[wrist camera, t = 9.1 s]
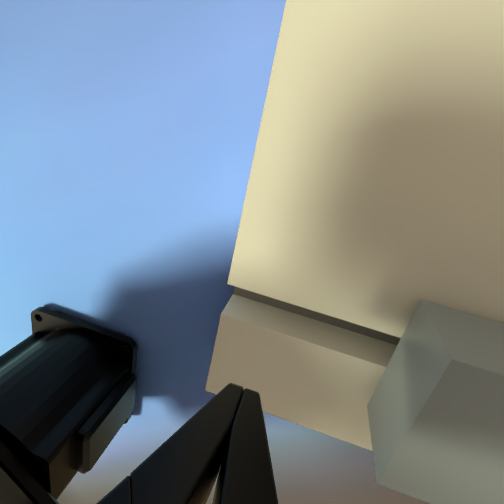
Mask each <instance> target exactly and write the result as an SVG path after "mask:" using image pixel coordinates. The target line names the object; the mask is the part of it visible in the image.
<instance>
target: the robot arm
mask: <svg viewBox="0 0 504 504" xmlns="http://www.w3.org/2000/svg"><path fill="white" fill-rule="evenodd" d="M31 321H32V333H33V334H32V335H31V336H29V337H28V338H27V339H25V340H24V341H22V342H21V343H19V344H18V345H16V346H15V347H13V348H12V349H10V350H9V351H7V352H6V353H5V354H3V355H2V356H0V504H59V503H58V502H57V501H56V500H57V498H58V497H59V496H60V494H61V493H62V492H63V490H64V489H65V488H66V486H67V485H68V484H69V482H70V481H71V480H72V478H73V477H74V476H75V474H76V473H77V472H80V473H83V474H84V473H86V472H88V471H90V470H91V469H92V467H93V466H94V465H95V463H96V462H97V460H98V459H99V457H100V456H101V455H102V453H103V452H104V450H105V449H106V448H107V446H108V445H109V443H110V442H111V441H112V439H113V438H114V436H115V435H116V433H117V432H118V431H119V429H120V428H121V426H122V425H123V424H126V423H127V422H128V420H129V419H130V418H131V415H132V411H133V409H134V407H135V397H136V385H137V377H136V374H135V369H136V357H137V343H136V342H135V341H134V340H133V339H132V338H130V337H128V336H125V335H122V334H119V333H116V332H113V331H110V330H108V329H105V328H102V327H99V326H96V325H93V324H90V323H88V322H85V321H82V320H79V319H76V318H73V317H70V316H68V315H65V314H62V313H59V312H56V311H53V310H50V309H48V308H45V307H39V308H37V309H35V310H34V311H32V313H31ZM127 346H128V347H127ZM220 467H221V468H220ZM219 470H220V471H219ZM218 473H219V475H218ZM217 476H218V479H217V484H216V488H215V493H214V498H213V503H212V504H278V499H277V493H276V487H275V481H274V475H273V469H272V463H271V458H270V452H269V446H268V440H267V434H266V428H265V422H264V417H263V411H262V405H261V399H260V394H259V393H258V392H256V391H254V390H251V389H248V388H246V389H244V388H243V387H242V386H239V385H236V384H233V383H229V384H228V385H226V386H225V387H224V388H223V389H222V390H221V391H220V392H219V393H218V394H217V395H216V396H214V397H213V398H212V399H211V400H210V401H209V402H208V403H207V404H206V405H205V406H204V407H202V408H201V409H200V410H199V411H198V412H197V413H196V414H195V415H194V416H193V417H192V418H190V419H189V420H188V421H187V422H186V423H185V424H184V425H183V426H182V427H181V428H180V429H178V430H177V431H176V432H175V433H174V434H173V435H172V436H171V437H170V438H169V439H168V440H167V441H165V442H164V443H163V444H162V445H161V446H160V447H159V448H158V449H157V450H156V451H155V452H153V453H152V454H151V455H150V456H149V457H148V458H147V459H146V460H145V461H144V462H143V463H141V464H140V465H139V466H138V467H137V468H136V469H135V470H134V471H133V472H132V473H131V475H130V476H127V477H126V478H125V479H124V480H123V481H122V482H120V483H119V484H118V485H117V486H116V487H115V488H114V489H113V490H112V491H111V492H109V493H108V494H107V495H106V496H105V497H104V498H102V499H101V500H100V501H99V502H98V503H97V504H206V502H207V499H208V497H209V495H210V493H211V490H212V488H213V486H214V483H215V481H216V478H217Z"/></svg>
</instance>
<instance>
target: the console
mask: <svg viewBox="0 0 504 504" xmlns="http://www.w3.org/2000/svg"><path fill="white" fill-rule="evenodd" d="M227 284H229V285H232V286H235V287H234V291H233V295H232V296H231V298H230V300H229V301H228V303H227V305H226V306H225V308H224V310H223V311H222V313H221V316H220V321H219V326H218V331H217V335H216V340H215V345H214V350H213V355H212V359H211V364H210V369H209V374H208V379H207V383H206V388H205V391H208V392H211V393H214V394H216V395H217V394H218V393H219V392H220V391H221V390H222V389H223V388H224V387H225V386H226V385H228V384H229V383H233V384H236V385H239V386H242V387H243V388H244V389H246V388H248V389H251V390H254V391H256V392H258V393H259V394H260V399H261V405H262V411H263V412H266V413H269V414H272V415H274V416H277V417H280V418H283V419H285V420H288V421H291V422H294V423H296V424H299V425H302V426H305V427H307V428H310V429H313V430H316V431H318V432H321V433H324V434H327V435H330V436H332V437H335V438H338V439H341V440H343V441H346V442H349V443H352V444H354V445H357V446H360V447H363V448H365V449H368V450H371V451H373V450H372V442H371V434H370V427H369V419H368V411H367V405H368V403H369V401H370V399H371V397H372V395H373V393H374V391H375V389H376V387H377V385H378V383H379V381H380V379H381V377H382V375H383V373H384V371H385V369H386V367H387V365H388V363H389V361H390V359H391V357H392V355H393V353H394V351H395V349H396V347H397V345H398V343H399V341H400V339H401V337H402V335H403V333H404V331H405V329H406V327H407V325H408V323H409V321H410V319H411V317H412V315H413V313H414V311H415V309H416V307H417V305H418V303H419V301H420V299H422V300H425V301H428V302H432V303H435V304H439V305H442V306H445V307H449V308H452V309H456V310H459V311H462V312H466V313H469V314H473V315H476V316H479V317H483V318H486V319H490V320H493V321H496V322H500V323H503V324H504V0H286V4H285V9H284V14H283V19H282V24H281V28H280V33H279V38H278V43H277V48H276V52H275V57H274V62H273V67H272V72H271V76H270V81H269V86H268V91H267V96H266V100H265V105H264V110H263V115H262V120H261V124H260V129H259V134H258V139H257V144H256V148H255V153H254V158H253V163H252V167H251V172H250V177H249V182H248V187H247V191H246V196H245V201H244V206H243V211H242V215H241V220H240V225H239V230H238V235H237V239H236V244H235V249H234V254H233V259H232V263H231V268H230V273H229V278H228V283H227Z"/></svg>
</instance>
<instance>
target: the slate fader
mask: <svg viewBox="0 0 504 504" xmlns="http://www.w3.org/2000/svg"><path fill="white" fill-rule="evenodd" d="M367 411H368V419H369V427H370V434H371V442H372V450H373V458H374V466H375V474H376V482H377V484H378V485H381V486H384V487H386V488H389V489H392V490H394V491H397V492H400V493H402V494H405V495H408V496H410V497H413V498H416V499H418V500H421V501H424V502H426V503H429V504H504V324H503V323H500V322H496V321H493V320H490V319H486V318H483V317H479V316H476V315H473V314H469V313H466V312H462V311H459V310H456V309H452V308H449V307H445V306H442V305H439V304H435V303H432V302H428V301H425V300H422V299H420V301H419V303H418V305H417V307H416V309H415V311H414V313H413V315H412V317H411V319H410V321H409V323H408V325H407V327H406V329H405V331H404V333H403V335H402V337H401V339H400V341H399V343H398V345H397V347H396V349H395V351H394V353H393V355H392V357H391V359H390V361H389V363H388V365H387V367H386V369H385V371H384V373H383V375H382V377H381V379H380V381H379V383H378V385H377V387H376V389H375V391H374V393H373V395H372V397H371V399H370V401H369V403H368V405H367Z"/></svg>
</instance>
